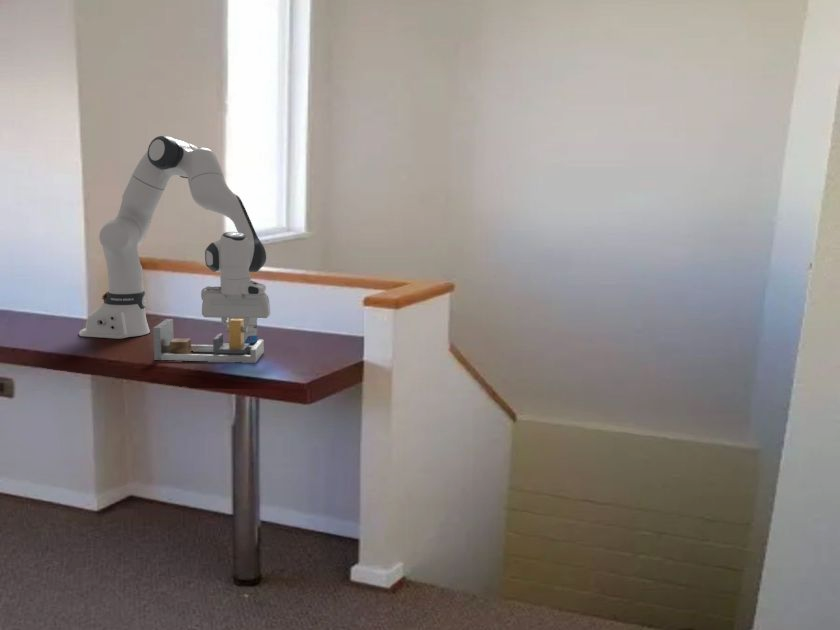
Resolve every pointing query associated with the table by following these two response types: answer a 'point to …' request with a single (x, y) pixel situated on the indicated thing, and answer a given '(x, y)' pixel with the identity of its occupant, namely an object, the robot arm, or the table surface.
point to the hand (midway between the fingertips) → (236, 332)
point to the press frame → (197, 348)
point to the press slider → (232, 340)
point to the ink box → (249, 330)
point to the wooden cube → (180, 346)
